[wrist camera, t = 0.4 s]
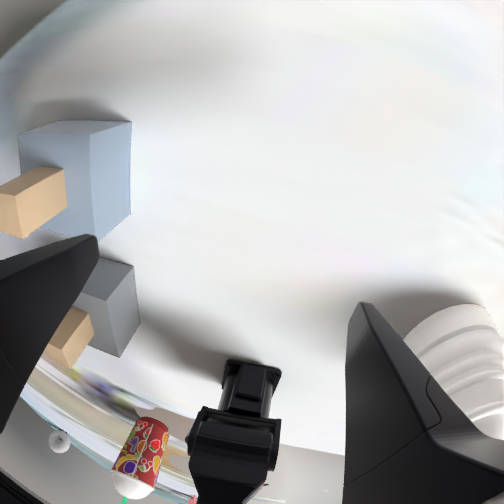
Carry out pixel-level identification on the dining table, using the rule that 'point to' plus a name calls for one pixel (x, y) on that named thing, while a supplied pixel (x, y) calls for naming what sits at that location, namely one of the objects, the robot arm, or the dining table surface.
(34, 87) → the dining table surface
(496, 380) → the honey pot
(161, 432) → the smoothie
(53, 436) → the donut
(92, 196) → the blue-grey and tan block
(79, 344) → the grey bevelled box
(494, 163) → the dining table surface
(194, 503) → the figurine
